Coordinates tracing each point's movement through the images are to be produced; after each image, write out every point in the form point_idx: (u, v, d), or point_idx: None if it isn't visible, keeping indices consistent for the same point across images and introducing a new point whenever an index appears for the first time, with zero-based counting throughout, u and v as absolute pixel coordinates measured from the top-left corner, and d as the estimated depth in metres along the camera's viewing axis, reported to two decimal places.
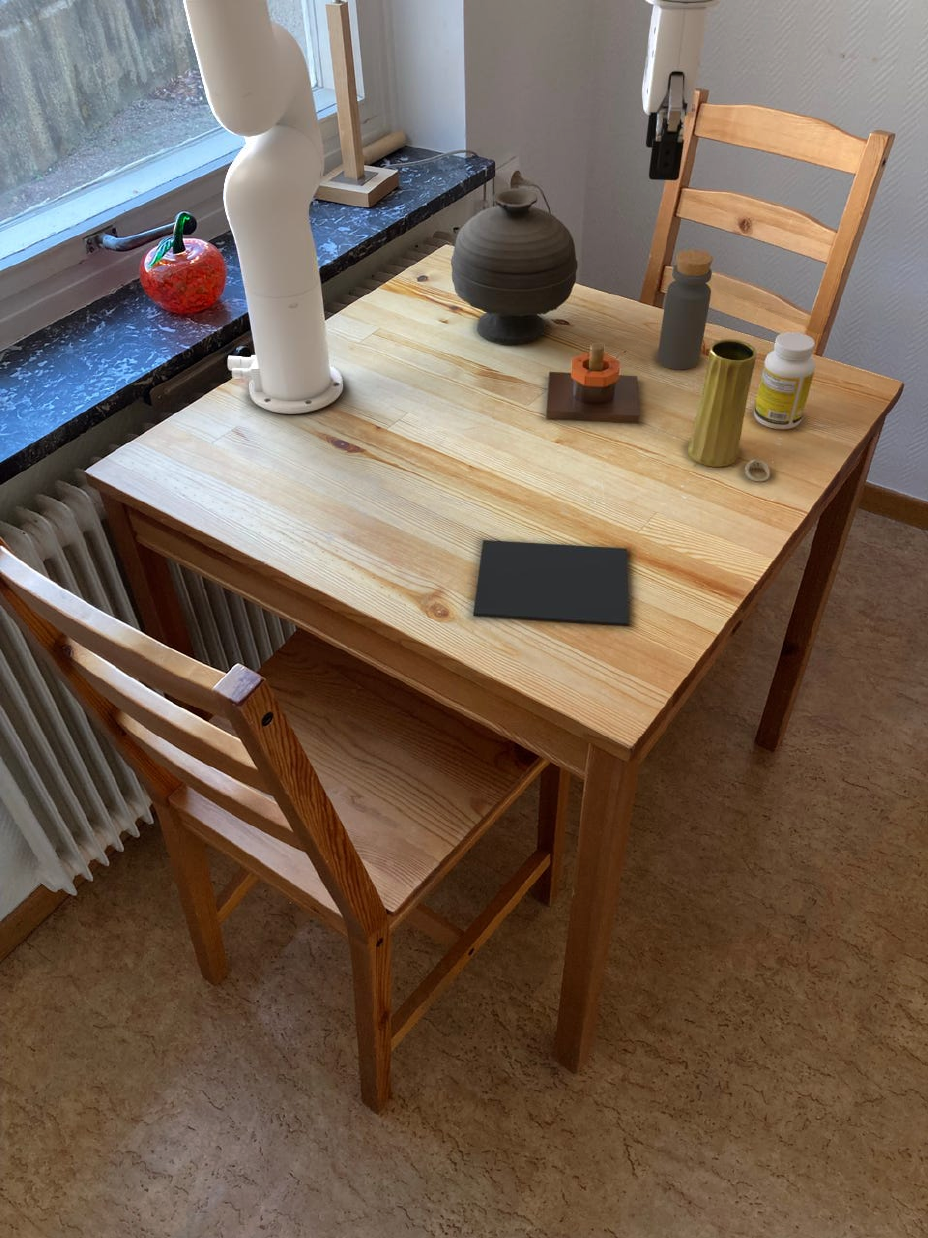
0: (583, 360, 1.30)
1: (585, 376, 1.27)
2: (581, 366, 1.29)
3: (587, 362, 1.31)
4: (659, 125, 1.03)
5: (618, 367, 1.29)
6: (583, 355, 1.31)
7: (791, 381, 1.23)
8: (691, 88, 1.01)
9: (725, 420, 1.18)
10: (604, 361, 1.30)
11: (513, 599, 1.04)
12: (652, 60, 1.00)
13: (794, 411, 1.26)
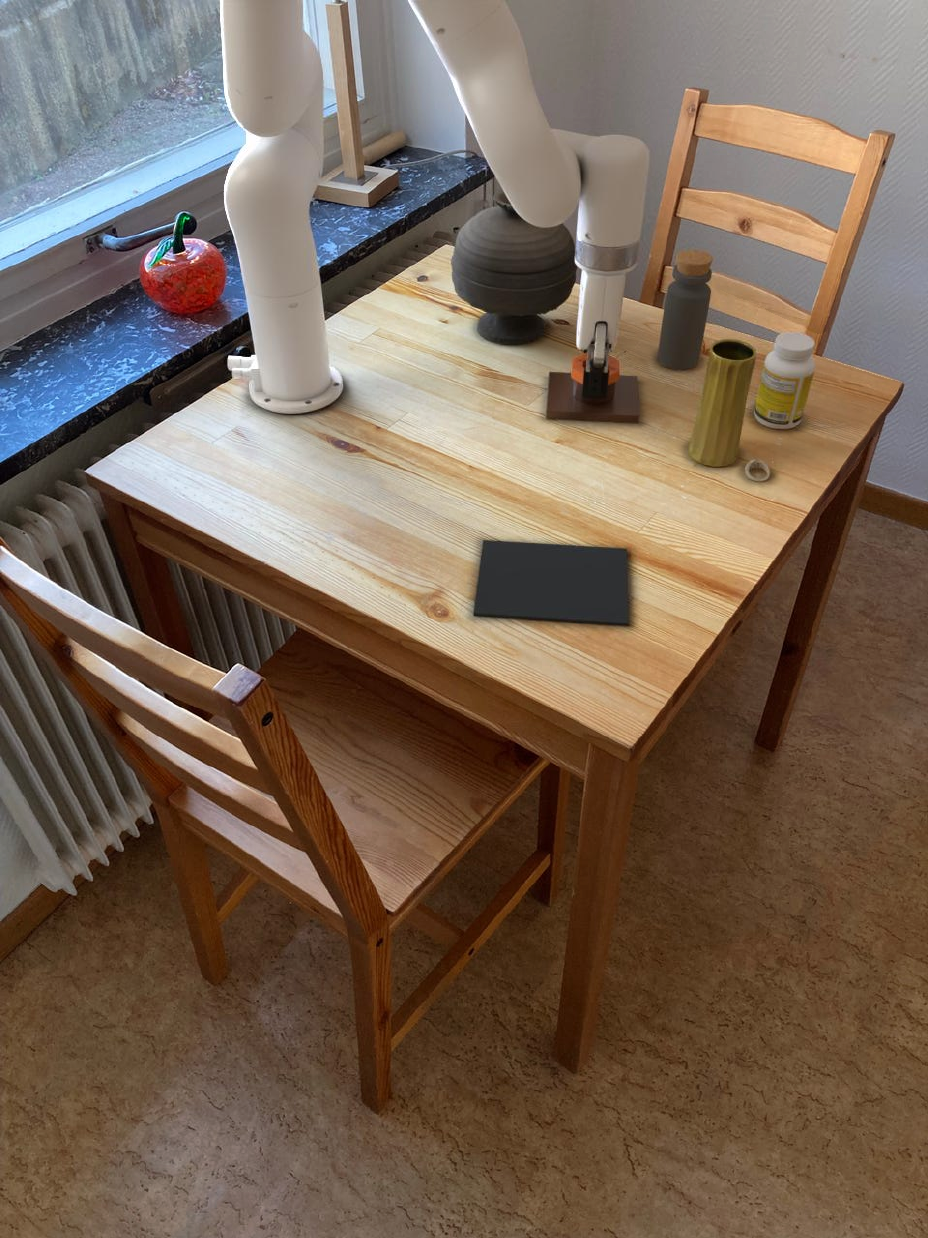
0: (583, 360, 1.30)
1: None
2: (581, 366, 1.29)
3: None
4: (588, 362, 1.24)
5: (618, 367, 1.29)
6: (583, 355, 1.31)
7: (791, 381, 1.23)
8: (614, 333, 1.21)
9: (725, 420, 1.18)
10: None
11: (513, 599, 1.04)
12: (581, 311, 1.20)
13: (793, 411, 1.26)
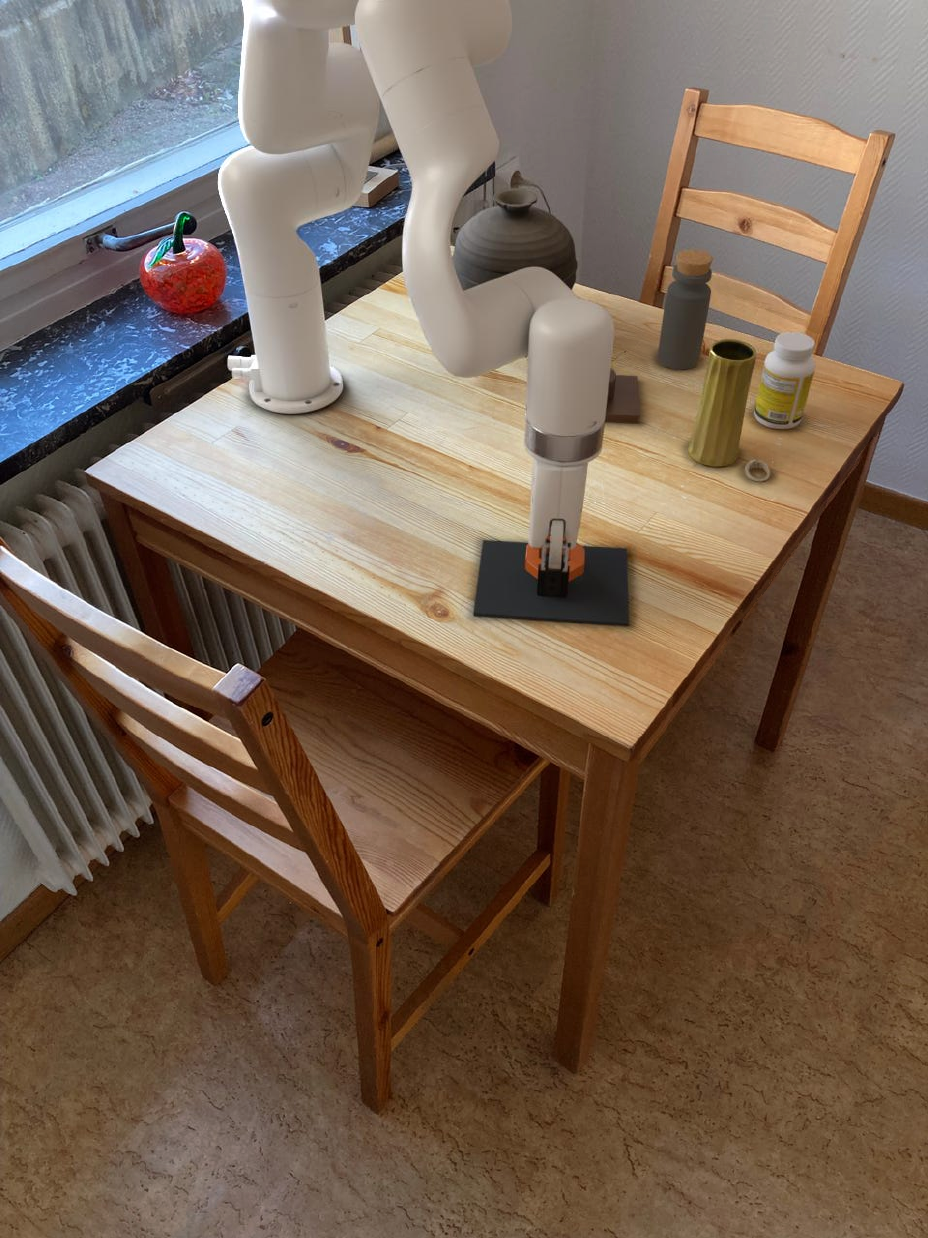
0: (540, 547, 1.06)
1: None
2: (537, 557, 1.05)
3: None
4: (543, 560, 1.00)
5: (582, 558, 1.05)
6: None
7: (791, 381, 1.23)
8: (574, 532, 0.97)
9: (725, 420, 1.18)
10: None
11: (513, 599, 1.04)
12: (532, 506, 0.96)
13: (793, 411, 1.26)
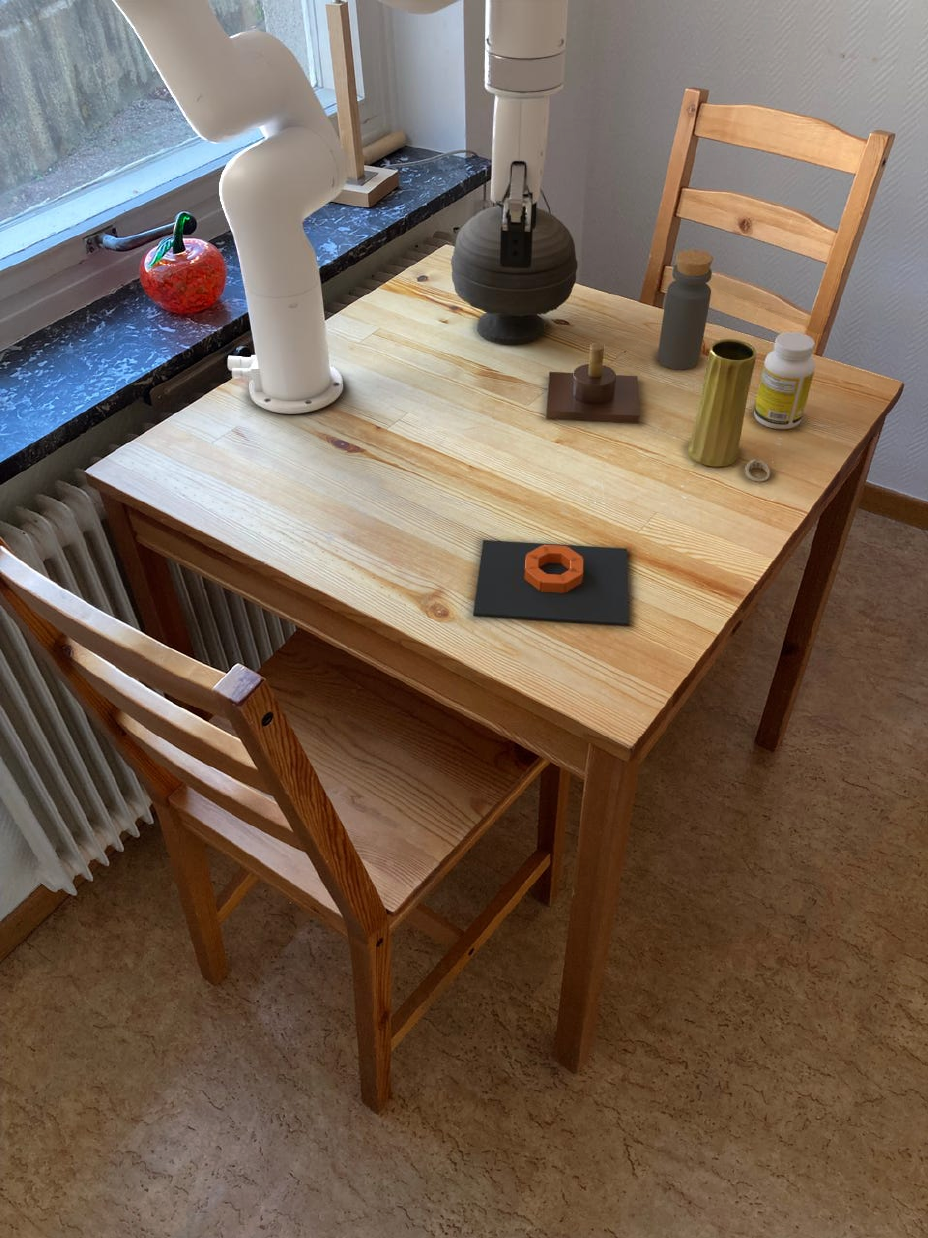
0: (539, 557, 1.07)
1: (541, 582, 1.04)
2: (536, 566, 1.06)
3: (544, 558, 1.08)
4: (505, 214, 0.99)
5: (581, 568, 1.06)
6: (539, 549, 1.08)
7: (791, 381, 1.23)
8: (535, 178, 0.97)
9: (725, 420, 1.18)
10: (565, 558, 1.07)
11: (513, 599, 1.04)
12: (493, 149, 0.96)
13: (793, 411, 1.26)
